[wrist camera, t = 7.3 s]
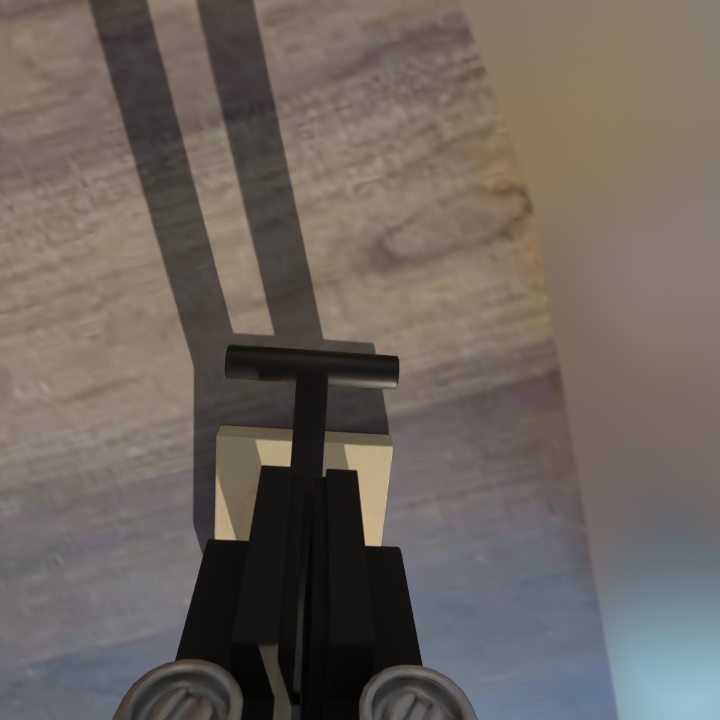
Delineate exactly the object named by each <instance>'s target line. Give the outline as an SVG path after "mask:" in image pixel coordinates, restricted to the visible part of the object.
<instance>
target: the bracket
mask: <svg viewBox="0 0 720 720" xmlns="http://www.w3.org/2000/svg"><path fill="white" fill-rule="evenodd" d="M292 434H293V429H278V428H261V427H244V426H227V425H221V426H220V428H219V431H218V434H217V436H216V479H215V530H214V539H220V540H244V541H249V535H250V529H251V523H252V518H253V512H254V506H255V500H256V494H257V488H258V482H259V477H260V471H261V466H262V465H270V466H289V467H290V463H291V449H292ZM392 452H393V444H392V440H391V436H390V435H382V434H365V433H348V432H330V431H325V443H324V460H323V477H325V476H326V469H346V470H357V472H358V480H359V490H360V499H361V509H362V518H363V528H364V537H365V546H381V541H382V533H383V525H384V517H385V509H386V501H387V492H388V484H389V476H390V468H391V460H392Z"/></svg>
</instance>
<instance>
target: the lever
mask: <svg viewBox="0 0 720 720" xmlns="http://www.w3.org/2000/svg"><path fill="white" fill-rule="evenodd" d="M225 376H226V378H227V379H241V380H256V381H272V382H287V383H296V392H295V406H294V420H293V434H292V449H291V463H290V467H292V475H303V476H304V490H303V512H302V534H301V556H300V578H299V599H298V621H297V640H296V656H295V669H294V682H293V696H292V709H291V720H299V715H300V686H301V658H302V630H303V608H304V593H305V581H306V568H307V556H308V543H309V530H310V518H311V505H312V493H313V480H314V476H323V460H324V443H325V427H326V410H327V393H328V385H334V386H349V387H365V388H380V389H396V387H397V384H398V379H399V359H398V357H397V356H390V355H376V354H361V353H347V352H332V351H318V350H303V349H289V348H274V347H260V346H245V345H231V344H230V345H228V347H227V351H226V358H225Z"/></svg>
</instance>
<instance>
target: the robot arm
mask: <svg viewBox="0 0 720 720" xmlns="http://www.w3.org/2000/svg"><path fill="white" fill-rule="evenodd" d="M303 490H304V476H303V475H292V467H289V466H270V465H262V466H261V471H260V477H259V482H258V488H257V494H256V500H255V506H254V512H253V518H252V523H251V529H250V535H249V541H244V540H220V539H209V540H208V542H207V545H206V548H205V551H204V555H203V559H202V563H201V566H200V570H199V574H198V577H197V581H196V585H195V589H194V592H193V596H192V600H191V603H190V607H189V611H188V615H187V618H186V622H185V626H184V630H183V633H182V637H181V641H180V644H179V648H178V652H177V656H176V659H175V661H174V662H169V663H165V664H163V665H161V666H159V667H157V668H155V669H153V670H151V671H148V672H147V673H146V674H145V675H144V676H142V677H141V678H140V679H139V680H137V681H136V682H135V683H134V684H133V685H132V687H131V688H130V689H129V691H128V692H127V693H126V695H125V696H124V698H123V699H122V701H121V703H120V705H119V707H118V709H117V711H116V713H115V715H114V716H113V718H112V720H291V709H292V696H293V682H294V669H295V656H296V640H297V621H298V599H299V578H300V556H301V534H302V512H303ZM299 720H478V719H477V717H476V714H475V712H474V709H473V707H472V705H471V703H470V702H469V700H468V698H467V697H466V695H465V693H464V692H463V690H462V689H461V688H459V687H458V686H457V685H456V684H455V683H454V682H453V681H452V680H451V679H450V678H448V677H446V676H445V675H443V674H441V673H439V672H437V671H436V670H433V669H430V668H426V667H423V666H422V660H421V655H420V650H419V644H418V639H417V634H416V628H415V623H414V618H413V612H412V607H411V601H410V596H409V591H408V585H407V580H406V575H405V569H404V564H403V559H402V554H401V550H400V548H399V547H387V546H365V537H364V528H363V518H362V509H361V499H360V490H359V480H358V472H357V470H346V469H326V476H325V477H323V476H314V480H313V493H312V505H311V518H310V530H309V543H308V556H307V568H306V581H305V593H304V608H303V630H302V658H301V686H300V715H299Z"/></svg>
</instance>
